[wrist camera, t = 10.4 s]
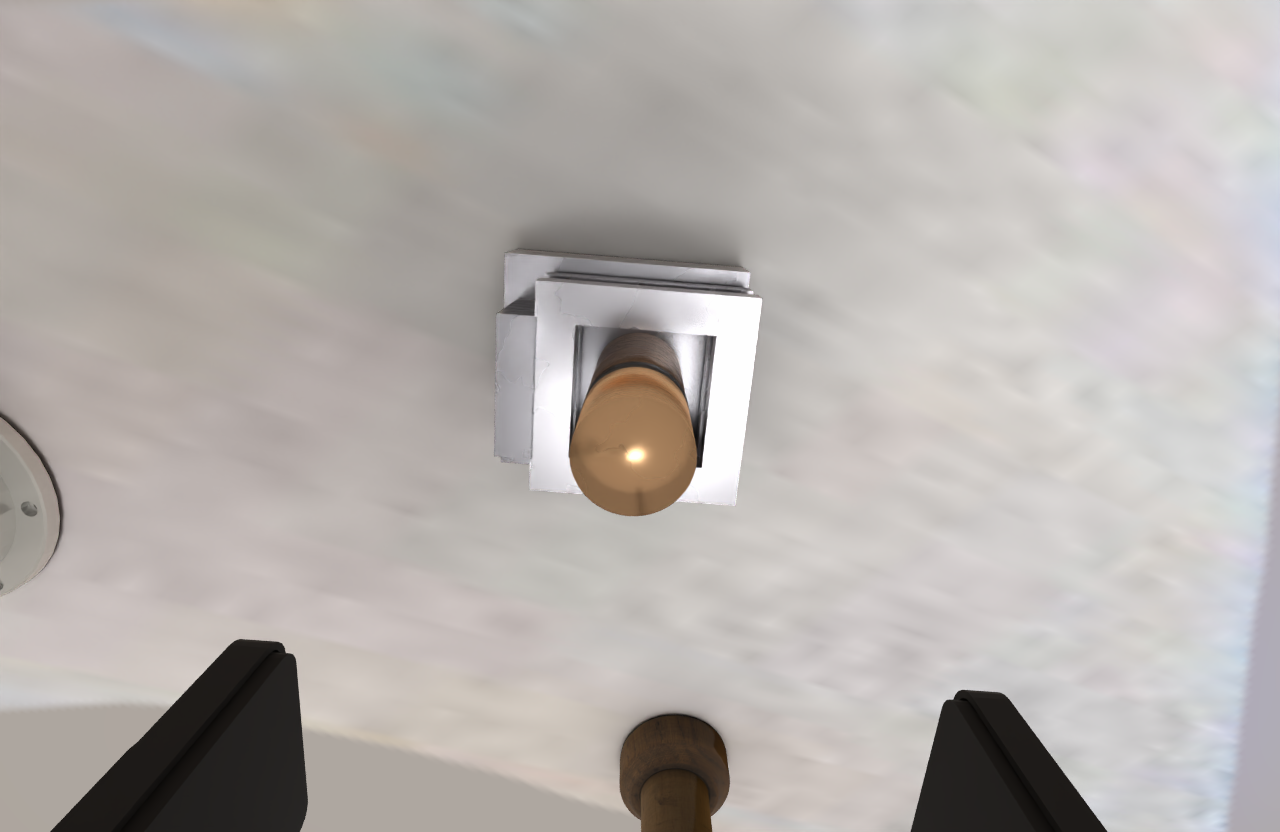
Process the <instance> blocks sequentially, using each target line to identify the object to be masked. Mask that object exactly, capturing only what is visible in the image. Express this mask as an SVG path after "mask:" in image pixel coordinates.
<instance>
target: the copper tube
mask: <svg viewBox="0 0 1280 832" xmlns="http://www.w3.org/2000/svg"><path fill="white" fill-rule="evenodd" d="M569 455H570V466H571V471H572V474H573V477H574V479H575V481H576V483H577V485H578V487H579V488H580V490H581V491H582V492H583V493H584V495H585V496H586V497H587V498H588V499H590V500H591V501H592V502H593V503H595V504H596V505H597V506H599V507H601V508H603V509H604V510H607V511H609V512H612V513H615V514H619V515H625V516H643V515H648V514H653V513H655V512H658V511H661V510H663V509H665V508H667V507H668V506H670V505H671V504H673V503H674V502H675V501H676V500H678V499H679V498H680V497H681V496H682V495H683V493H684V492H685V491H686V489H687V488H688V486H689V485H690V483H691V481H692V479H693V476H694V473H695V470H696V464H697V450H696V444H695V438H694V433H693V428H692V423H691V418H690V411H689V406H688V401H687V397H686V393H685V388H684V383H683V378H682V373H681V368H680V364H679V361H678V358H677V356H676V354H675V352H674V351H673V350H672V348H671V347H670V346H669V345H668V344H667V343H666V342H665V341H663V340H662V339H660V338H658V337H656V336H654V335H651V334H648V333H629V334H625V335H622V336H620V337H618V338H616V339H614V340H613V341H612V342H610V343H609V344H608V345H607V346H606V347H605V349H604V350H603V351H602V353H601V355H600V357H599V359H598V361H597V365H596V368H595V371H594V374H593V377H592V380H591V383H590V386H589V389H588V391H587V394H586V396H585V399H584V402H583V406H582V410H581V413H580V416H579V419H578V422H577V425H576V428H575V431H574V434H573V437H572V441H571V445H570V453H569Z"/></svg>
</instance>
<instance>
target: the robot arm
mask: <svg viewBox="0 0 1280 832" xmlns="http://www.w3.org/2000/svg"><path fill="white" fill-rule="evenodd" d="M59 524H60V515H59V508H58V500H57V496H56V493H55V490H54V488H53V485H52V482H51V479H50V477H49V475H48V473H47V471H46V469H45V468H44V466H43V464H42V462H41V460H40V458H39V457H38V456H37V454H36V453H35V452H34V451H33V449H32V448H31V447H30V445H29V444H28V443H27V442H26V440H25V439H24V438H23V437H22V436H21V435H20V434H19V433H18V432H17V431H16V430H14V429H13V428H12V427H11V426H10V425H9V424H8V423H7V422H6V421H5V420H3V419H2V418H1V417H0V596H3V595H5V594H7V593H10V592H12V591H13V590H15V589H17V588H18V587H20V586H21V585H23V584H25V583H26V582H28V581H30V580H31V579H32V578H33V577H34V576H35V575H37V574H38V573H39V572H40V571H41V570H42V569H43V568H44V567H45V565H46V564H47V562H48V560H49V559H50V557H51V556H52V554H53V552H54V549H55V546H56V543H57V540H58V537H59ZM307 805H308V796H307V785H306V773H305V761H304V749H303V737H302V725H301V713H300V701H299V689H298V677H297V665H296V659H295V657H294V655H293V654H290V653H286V652H285V648H284V646H283V644H282V643H280V642H273V641H259V640H244V639H239V640H236V641H234V642H233V643H232V644H230V645H229V646H228V647H227V648H226V650H225V651H224V652H223V653H222V654H221V655H220V656H219V657H218V658H217V659H216V660H215V661H214V662H213V663H212V664H211V665H210V666H209V667H208V668H207V670H206V671H205V672H204V673H203V674H202V675H201V676H200V677H199V678H198V679H197V680H196V681H195V682H194V683H193V684H192V685H191V686H190V687H189V688H188V690H187V691H186V692H185V693H184V694H183V695H182V696H181V697H180V698H179V699H178V700H177V701H176V702H175V703H174V704H173V705H172V706H171V707H170V709H169V710H168V711H167V712H166V713H165V714H164V715H163V716H162V717H161V718H160V719H159V720H158V721H157V722H156V723H155V724H154V725H153V727H151V729H150V730H149V731H148V732H147V733H146V734H145V735H144V736H143V737H142V738H141V739H140V740H139V741H138V742H137V743H136V744H135V745H134V746H132V747H131V748H130V749H129V750H128V751H127V752H126V753H125V754H124V755H123V756H122V757H121V758H120V759H119V760H118V761H117V762H116V763H115V764H114V765H113V766H112V767H111V769H110V770H109V771H108V772H107V773H106V774H105V775H104V776H103V777H102V778H101V779H100V780H99V781H98V782H97V783H96V784H95V785H94V786H93V787H92V789H91V790H90V791H89V792H88V793H87V794H86V795H85V796H84V797H83V798H82V799H81V800H80V801H79V802H78V803H77V804H76V805H75V806H74V807H73V808H72V809H71V811H70V812H69V813H68V814H67V815H66V816H65V817H64V818H63V819H62V820H61V821H60V822H59V823H58V824H57V825H56V826H55V827H54V828H53V829H52V830H51V832H300V830H301V828H302V825H303V822H304V820H305V816H306V812H307ZM911 832H1107V830H1106V829H1105V828H1104V826H1103V825H1102V824H1101V822H1100V821H1099V820H1098V818H1097V817H1096V816H1095V814H1094V813H1093V812H1092V810H1091V809H1090V808H1089V806H1088V805H1087V803H1086V802H1085V801H1084V799H1083V798H1082V797H1081V795H1080V794H1079V793H1078V791H1077V790H1076V789H1075V787H1074V786H1073V785H1072V783H1071V782H1070V781H1069V779H1068V778H1067V777H1066V775H1065V774H1064V773H1063V771H1062V770H1061V768H1060V767H1059V766H1058V764H1057V763H1056V762H1055V760H1054V759H1053V758H1052V756H1051V755H1050V754H1049V752H1048V751H1047V750H1046V748H1045V747H1044V746H1043V744H1042V743H1041V742H1040V740H1039V739H1038V738H1037V736H1036V735H1035V733H1034V732H1033V731H1032V729H1031V728H1030V727H1029V725H1028V724H1027V723H1026V721H1025V720H1024V719H1023V717H1022V716H1021V715H1020V713H1019V712H1018V711H1017V709H1016V708H1015V707H1014V705H1013V704H1012V702H1011V701H1010V700H1009V699H1008V698H1007V697H1006V696H1005V695H1004V694H1002V693H999V692H986V691H971V690H961V691H958V692H957V693H956V695H955V697H954V699H953V700H946V701H945V702H944V704H943V707H942V710H941V714H940V718H939V722H938V726H937V730H936V734H935V738H934V742H933V746H932V750H931V754H930V758H929V761H928V765H927V769H926V773H925V777H924V781H923V785H922V789H921V793H920V797H919V801H918V805H917V809H916V813H915V817H914V821H913V825H912V829H911Z"/></svg>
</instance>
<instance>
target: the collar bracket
mask: <svg viewBox="0 0 1280 832" xmlns="http://www.w3.org/2000/svg"><path fill="white" fill-rule="evenodd" d="M749 281H750V272H749V271H747V270H746V269H744V268H743V267H737V266H724V265H712V264H700V263H687V262H675V261H662V260H650V259H638V258H625V257H613V256H601V255H588V254H576V253H563V252H551V251H539V250H526V249H515V250H512V251H509V252H506V253H505V272H504V308H503V309H502V310H501V311H499V312H498V313H496V372H495V437H494V456H495V457H501V462H507V463H520V464H530V476H529V490H536V491H549V492H562V493H575V494H584V493H583V492H582V491H581V490H580V488H579V487H578V485H577V483H576V481H575V479H574V477H573V474H572V471H571V466H570V455H569V453H570V445H571V441H572V437H573V434H574V431H575V428H576V425H577V422H578V419H579V416H580V413H581V410H582V406H583V402H584V399H585V396H586V394H587V391H588V389H589V386H590V383H591V380H592V377H593V374H594V371H595V368H596V365H597V361H598V359H599V357H600V355H601V353H602V351H603V350H604V349H605V347H606V346H607V345H608V344H609V343H610V342H612V341H613V340H614V339H616V338H618V337H620V336H622V335H625V334H629V333H648V334H651V335H654V336H656V337H658V338H660V339H662V340H663V341H665V342H666V343H667V344H668V345H669V346H670V347H671V348H672V350H673V351H674V352H675V354H676V356H677V358H678V361H679V364H680V368H681V373H682V378H683V383H684V388H685V393H686V397H687V401H688V406H689V411H690V418H691V423H692V428H693V433H694V438H695V444H696V450H697V464H696V470H695V473H694V476H693V479H692V481H691V483H690V485H689V486H688V488H687V489H686V491H685V492H684V493H683V495H682V496H681V497H680V498H679V499H678V500H676V501H679V502H692V503H705V504H718V505H731V506H735V505H736V497H737V489H738V482H739V474H740V466H741V459H742V451H743V443H744V436H745V428H746V420H747V413H748V405H749V397H750V390H751V382H752V374H753V367H754V359H755V351H756V344H757V336H758V328H759V321H760V313H761V305H762V298H761V297H760V296H759V295H755V294H753V291H752V290H751V289H750V288H749Z"/></svg>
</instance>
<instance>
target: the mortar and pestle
mask: <svg viewBox="0 0 1280 832" xmlns="http://www.w3.org/2000/svg"><path fill="white" fill-rule="evenodd" d="M729 786H730V777H729V770H728V762H727V754H726V749H725V746H724V743H723V741H722V739H721V737H720V736H719V734H718V733H717V732H716V731H715V730H714V729H713V728H712V727H711V726H709V725H708V724H707V723H705V722H703V721H700V720H698V719H695V718H692V717H688V716H680V715H667V716H661V717H657V718H654V719H651V720H649V721H647V722H645V723H643V724H641V725H640V726H639V727H638V728H637V729H635V731H634V732H633V733H631V734H630V735H629V736H628V738H627V739H626V741H625V743H624V745H623V748H622V751H621V757H620V792H621V796H622V799H623V802H624V804H625V805H626V807H627V808H628V810H629V811H630V812H631V813H632V814H633V815H634V816H635V817H637V818H638V819H640V820H641V832H712V825H711V816H712V815H714V814H715V813H716V812H717V811H718V810H719V809H720V807H721V806H722V805H723V803H724V802H725V800H726V798H727V795H728V792H729Z"/></svg>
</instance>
